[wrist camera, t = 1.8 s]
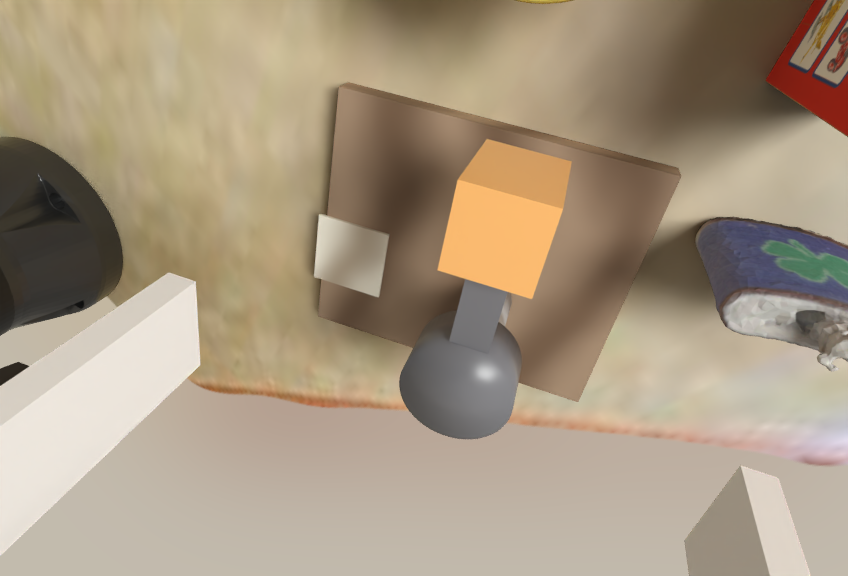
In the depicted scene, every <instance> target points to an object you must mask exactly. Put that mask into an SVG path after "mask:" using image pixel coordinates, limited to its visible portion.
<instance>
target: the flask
mask: <svg viewBox="0 0 848 576" xmlns="http://www.w3.org/2000/svg"><path fill="white" fill-rule="evenodd" d="M695 243H696V246H697V249H698V252H699V254H700V256H701V258H702V261H703V264H704V267H705V270H706V272H707V275H708V277H709V281H710V284H711V286H712V289H713V293H714V296H715V300H716V308H717V310H718V312H719V314H720V317H721V320H722V321H723V323H724V325H725V326H726V327H727V328H729V329H731V330H732V331H735V332H737V333H740V334H742V335H749V336H758V337H762V338H767V339H776V340H781V341H786V342H788V343H792V344H797V345H799V346H804V347H808V348H811V349H815V350H818V351H819V352H820V353H822V354H819V355H818V356H817V360H818V362H819V363H821V364H822V365H824V366H826V367H827V368H828V369H829V371H836V370H838V369H839V368H837V367H836V366H834V365H833V364H832V362H833V360H835V359H837V358H843V359H844V360H846V361H848V245H845V244H844V243H840V242H837V241H835V240H834V239H832V238H830V237H828V236H827V237H824V236H822V235H821V234H819V233H815V232H812V231H807V230H803V229H801V228H797V227H788V226H783V225H779V224H772V223H769V222H764V221H761V222H760V221H756V220H753V219H751V220H750V219H742V218H738V217H727V218H724V217H721V218H720V217H719V218H716V219H710V220H708V221H707V222H706V223H704V224H703V225H702V226H701V227H700V229H699V231H698V232H697V235H696V239H695Z"/></svg>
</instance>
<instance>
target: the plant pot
mask: <svg viewBox="0 0 848 576" xmlns="http://www.w3.org/2000/svg"><path fill="white" fill-rule="evenodd" d="M516 1H520V2H526V3H538V4H550V3H562V2H567V1H573V0H516Z"/></svg>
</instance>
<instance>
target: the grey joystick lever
mask: <svg viewBox="0 0 848 576" xmlns="http://www.w3.org/2000/svg"><path fill="white" fill-rule="evenodd" d="M571 163H572V161H568V160H564V159H561V158H557V157H553V156H549V155H546V154H542V153H538V152H534V151H530V150H527V149H523V148H519V147H515V146H512V145H508V144H504V143H500V142H497V141H493V140H489V139H487V140H486V141H485V142H484V144H483V145H482V147H481V148H480V149H479V151H478V152H477V153H476V155H475V156H474V158H473V159H472V160H471V162H470V163H469V165H468V166H467V167H466V169H465V170H464V172H463V173H462V174H461V176H460V177H459V178H458V181H457V185H456V189H455V194H454V198H453V203H452V207H451V212H450V216H449V221H448V225H447V230H446V234H445V238H444V243H443V247H442V252H441V256H440V261H439V265H438V271H441V272H445V273H448V274H451V275H454V276H458V277H461V278H464V279H465V282H464V286H463V290H462V294H461V298H460V301H459V305H458V309H457V311H450V312H446V313H443V314H441V315H439V316H437V317H435V318H434V319H432V320H431V321H430V322H429V323H428V324H427V325H426V326H425V327H424V329H423V331H422V332H421V334H420V336H419V338H418V340H417V342H416V344H415V346H414V348H413V350H412V352H411V354H410V356H409V358H408V360H407V362H406V364H405V366H404V368H403V370H402V372H401V375H400V381H399V385H400V392H401V396H402V399H403V401H404V403H405V405H406V407H407V408H408V410H409V411H410V412H411V413H412V415H413V416H414V417H415V418H417V420H418V421H420V422H421V423H422V424H423V425H425V426H426V427H428V428H430V429H431V430H433V431H435V432H437V433H440V434H442V435H445V436H448V437H453V438H458V439H478V438H482V437H486V436H489V435H491V434H493V433H495V432H497V431H498V430H500V429H501V428H502V427H503V426H504V425H505V424H506V423H507V421H508V420H509V418H510V416H511V413H512V409H513V405H514V400H515V396H516V391H517V386H518V382H519V377H520V372H521V368H522V354H521V350H520V347H519V345H518V342H517V341H516V339H515V337H514V336H513V335H512V333H511V332H510V331H509V330H508V329H507V328H506V327H505V326H504V325H502V324H501V323H500V322H498V321H499V318H500V315H501V312H502V309H503V305H504V302H505V299H506V296H507V293H508V292H510V293H513V294H516V295H520V296H523V297H526V298H530V299H532V298H533V295H534V292H535V289H536V286H537V283H538V281H539V278H540V275H541V272H542V269H543V266H544V263H545V260H546V257H547V254H548V252H549V249H550V246H551V243H552V240H553V237H554V234H555V231H556V228H557V226H558V223H559V220H560V217H561V214H562V211H563V208H564V202H565V196H566V191H567V185H568V180H569V174H570V169H571Z"/></svg>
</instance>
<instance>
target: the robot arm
mask: <svg viewBox="0 0 848 576" xmlns="http://www.w3.org/2000/svg"><path fill="white" fill-rule="evenodd" d="M122 263H123V261H122V249H121V244H120V240H119V236H118V233H117V230H116V228H115V225H114V223H113V221H112V218H111V216H110V214H109V212H108V211H107V209H106V207H105V206H104V204H103V202H102V201H101V199H100V198H99V196H98V195H97V194H96V192H95V191H94V190H93V188H92V187H91V186H90V185H89V184H88V182H87V181H86V180H85V179H84V178H83V177H82V176H81V175H80V174H79V173H78V172H77V171H76V170H75V169H74V168H73V167H72V166H71V165H69V164H68V163H67V162H66V161H64V160H63V159H62V158H60V157H59V156H58V155H56V154H55V153H53V152H51V151H50V150H48V149H46V148H44V147H42V146H40V145H38V144H36V143H33V142H31V141H28V140H24V139H20V138H14V137H1V138H0V335H2V334H4V333H6V332H7V331H9V330H11V329H14V328H17V327H21V326H25V325H29V324H33V323H37V322H41V321H45V320H49V319H53V318H57V317H60V316H64V315H67V314H72V313H76V312H80V311H82V310H84V309H87V308H89V307H90V306H92V305H93V304H95V303H96V302H98V301H100V300H101V299H103V298H104V297H106V296H107V295H109V294H110V293H111V292H112V291H113V290H114V289H115V287H116V286H117V284H118V282H119V279H120V276H121V272H122ZM199 366H200V349H199V331H198V314H197V296H196V281H193V280H190V279H187V278H184V277H181V276H178V275H175V274H172V273H167V274H166V275H164V276H163V277H161V278H160V279H158V280H157V281H155V282H154V283H152V284H151V285H149V286H148V287H146V288H145V289H143V290H142V291H141V292H139V293H138V294H136V295H135V296H133V297H132V298H130V299H129V300H127V301H126V302H124V303H123V304H121V305H120V306H118V307H117V308H115V309H114V310H112V311H111V312H109V313H108V314H106V315H105V316H103V317H102V318H101V319H99V320H98V321H96V322H95V323H93V324H92V325H90V326H89V327H87V328H86V329H84V330H83V331H81V332H80V333H78V334H77V335H75V336H74V337H72V338H71V339H69V340H68V341H66V342H65V343H63V344H62V345H61V346H59V347H58V348H56V349H55V350H53V351H52V352H50V353H49V354H47V355H46V356H44V357H43V358H41V359H40V360H38V361H37V362H35V363H34V364H32V365H31V366H27V365H25V364H22V363H20V362H17V363H14V364H11V365H9V366H6V367H3V368H1V369H0V556H1V555H2V553H4V552H5V551H6V550H7V549H8V548H9V547H10V546H11V545H12V544H13V543H14V542H15V541H16V540H17V539H18V538H19V537H20V536H22V535H23V534H24V533H25V532H26V531H27V530H28V529H29V528H30V527H31V526H32V525H33V524H34V523H35V522H36V521H37V520H38V519H39V518H40V517H41V516H43V515H44V513H45V512H47V511H48V510H49V509H50V508H51V507H52V506H53V505H54V504H55V503H56V502H57V501H58V500H59V499H60V498H61V497H62V496H63V495H65V493H67V492H68V491H69V490H70V489H71V488H72V487H73V486H74V485H75V484H76V483H77V482H78V481H79V480H80V479H81V478H82V477H83V476H84V475H86V474H87V473H88V472H89V470H91V469H92V468H93V467H94V466H95V465H96V464H97V463H98V462H99V461H100V460H101V459H102V458H103V457H104V456H105V455H106V454H108V453H109V452H110V451H111V450H112V449H113V448H114V447H115V446H116V445H117V444H118V443H119V442H120V441H121V440H122V439H123V438H124V437H125V436H126V435H127V434H129V433H130V431H131V430H133V429H134V428H135V427H136V426H137V425H138V424H139V423H140V422H141V421H142V420H143V419H144V418H145V417H146V416H147V415H148V414H149V413H151V412H152V411H153V410H154V409H155V408H156V407H157V406H158V405H159V404H160V403H161V402H162V401H163V400H164V399H165V398H166V397H167V396H168V395H169V394H171V393H172V392H173V390H175V389H176V388H177V387H178V386H179V385H180V384H181V383H182V382H183V381H184V380H185V379H186V378H187V377H188V376H189V375H190V374H192V373H193V372H194V371H195V370H196V369H197V368H198V367H199ZM685 548H686V556H687V564H688V571H689V576H811V575H810V572H809V569H808V566H807V563H806V560H805V557H804V554H803V551H802V548H801V545H800V542H799V539H798V536H797V533H796V530H795V527H794V524H793V521H792V518H791V515H790V512H789V509H788V506H787V503H786V500H785V497H784V494H783V491H782V488H781V485H780V482H779V479H778V478H777V477H774V476H771V475H768V474H765V473H762V472H759V471H756V470H753V469H750V468H747V467H744V466H740V467H739V468H738V469H737V471H736V472H735V473H734V475H733V476H732V478H731V479H730V480H729V482H728V483H727V484H726V485H725V487H724V488H723V489H722V491H721V492H720V494H719V495H718V496H717V498H716V499H715V500H714V502H713V503H712V504H711V506H710V507H709V508H708V510H707V511H706V512H705V514H704V515H703V516H702V518H701V519H700V521H699V522H698V523H697V524H696V526H695V527H694V528H693V530H692V531H691V532H690V534H689V535H688V537H687V538H686V539H685Z"/></svg>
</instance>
